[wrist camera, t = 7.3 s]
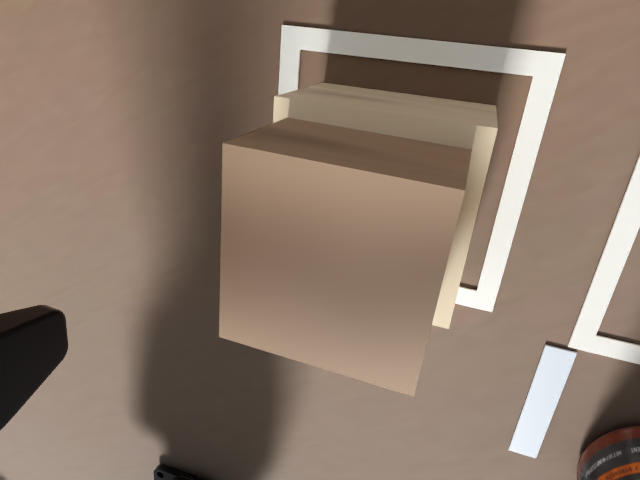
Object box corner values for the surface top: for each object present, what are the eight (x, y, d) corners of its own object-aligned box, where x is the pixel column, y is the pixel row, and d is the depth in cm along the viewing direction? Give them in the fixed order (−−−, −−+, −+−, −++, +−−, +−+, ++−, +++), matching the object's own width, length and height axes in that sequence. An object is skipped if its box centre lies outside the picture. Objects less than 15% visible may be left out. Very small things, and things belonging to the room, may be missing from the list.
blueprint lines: (772, 529, 20) (773, 531, 19) (264, 373, 25) (264, 374, 25) (1088, 106, 12) (1091, 107, 12) (282, 25, 18) (281, 24, 18)
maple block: (458, 264, 20) (448, 328, 15) (311, 232, 21) (265, 282, 17) (496, 105, 17) (497, 128, 13) (324, 82, 19) (273, 96, 14)
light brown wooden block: (431, 315, 15) (414, 397, 12) (275, 274, 17) (218, 336, 13) (471, 149, 13) (465, 190, 10) (287, 117, 14) (222, 142, 11)
